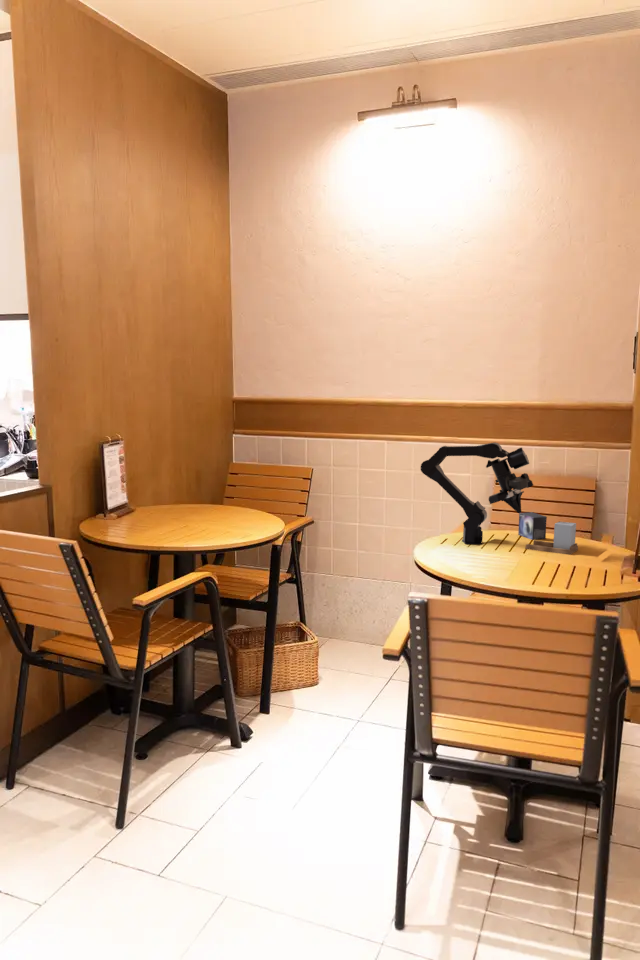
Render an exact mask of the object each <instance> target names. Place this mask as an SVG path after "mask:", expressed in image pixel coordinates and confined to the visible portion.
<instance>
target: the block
mask: <svg viewBox="0 0 640 960" xmlns="http://www.w3.org/2000/svg"><path fill="white" fill-rule="evenodd" d="M576 530H577V523H576V522H568V521H567V522H566V521H558V522H556V523H554V528H553V532H554V533H553V543H554V544H553V548H560V549H568V550H570V546H572V545H574V544H575V543H576V534H577V531H576Z"/></svg>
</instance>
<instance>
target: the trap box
mask: <svg viewBox="0 0 640 960" xmlns="http://www.w3.org/2000/svg"><path fill="white" fill-rule="evenodd" d="M553 544H554V542H553V541H551V542H550V541H544V540H532V544H529V543H528V544H525V547H524V548H525V550H532V551H538V552H539V551H540V552H545V553H546V552H547V553H554V554H561V555H568V556H569V555H570V556H571V555H572V554H574V553H575V552H577V551H578V550H579V545H578V543H576V542H575V544H574V545H572V546H570V550H568V549H560V548H553Z"/></svg>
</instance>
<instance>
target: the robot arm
mask: <svg viewBox="0 0 640 960" xmlns="http://www.w3.org/2000/svg"><path fill="white" fill-rule="evenodd" d="M467 456H468V457H474V456H475V457H481V458H485V459H489V460H487V463H486V465H485V468H486V469H488V468H489V467H491V468H492V471H493V473H494V475H495V478H496V479H495V483H496V484H497V483H498V484H499V487H500V490H499V492H497V493H494V494H492V495H489V496H488V502H489V505H491V504H492V505H493V504H495V503H499V502H504V503H506V504H507V505H508V506H509V507H510V508H512V509H513V510H514V511H515V512H516V513H518V514H519V513H522V503H521V502H522V495H523V493H525V491H524V490H523V489H526V488H532V487H533V486H534V483H533V480H531V479H530V476H529V475H528V473H525V472H524V473H522V474H521V475H519V476H516V475H517V474H515V473H514V472H513V473H512V471H511V469H514V470H518V469H520V468H522V467H526V466H528V465H530V460H529V458H528V456H527V454H526V453H525V451H524V448H523V447H519V448H517V449H516V450H513V451H511V452H508V451H507V450H506V449H504V448H502V446H501V445H500V443H498V442H496V441H495V442H489V443H484V444H480V445H479V444H478V445H450V446H449V445H443V446H440V447H439V448H438V450H437V451H436V452H434V454H432V456H431V457H430V458H429V459H426V460H424V461H423V462H422V463H421V464H420V472H421V473H422V474H423V475H425V476H426V477H427V478H428V479H430V480H432V481H434V482H436V483H437V484H438V485H439V486H440V487H441V488H442V489H443V490H444V491H445V492H446V493H447V494H448V496H450V497H451V498H452V499H453V500H454V501H455V502H456V503H457V504H458V505H459V506H460V507H461V508H462V509H463V511H464V514H465V515H466V516H467V518H466V520H465V521H463V523H462V524H463V528H462V529H463V534H462V539H461V542H463V544H465V545H482V544H483V538H484V537H483V536H484V535H483V531H482V527H481V525H482V524H483V522H485V520H487V517H488V513H487V510H486V507H485V506H483V505H482V504H481V503H480V501H479V500H477V501H475V502H474V501H473V500H471V499H470V498H469V497H468V496H467V495H466V494H465V493H464V492H463V491H462V490H460V488H459V487H457V485H456V484H454V482H453V481H451V479H450V478H449V477H448V476H447V475H446V473H444V470H443V469H442V466H440V464H442V463H443V461H444V460H445V459H446V457H467ZM500 458H501V460H500ZM503 458H504V459H503ZM490 459H493V460H490Z"/></svg>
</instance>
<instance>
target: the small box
mask: <svg viewBox="0 0 640 960" xmlns="http://www.w3.org/2000/svg"><path fill="white" fill-rule="evenodd" d="M547 520H548V516H546V515H542V514H539V513H536V512H534V511H533V512H532V511H531V512H529V511H528V512H521V513H518V535H519V536H520V537H523V538H526V539H528V540H532V541H534V540H536V541H539V540H546V537H547V536H546V535H547V534H546V533H547Z"/></svg>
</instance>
